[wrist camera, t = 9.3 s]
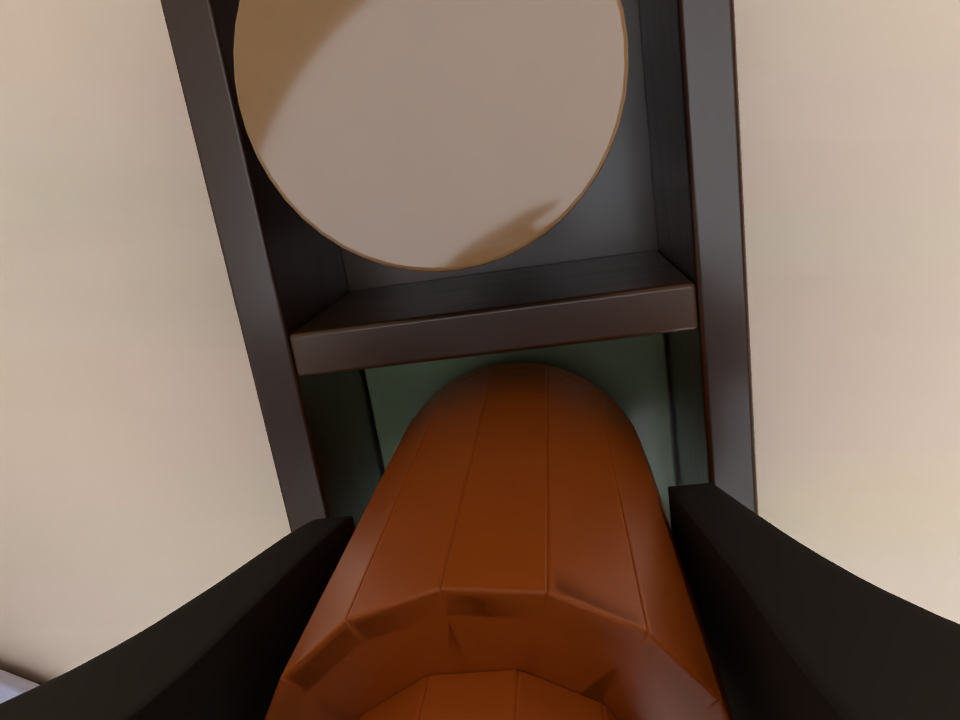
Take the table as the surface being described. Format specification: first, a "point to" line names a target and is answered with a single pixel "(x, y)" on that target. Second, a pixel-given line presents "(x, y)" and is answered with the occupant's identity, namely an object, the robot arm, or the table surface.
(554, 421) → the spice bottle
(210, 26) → the divided storage box
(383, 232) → the blue jar
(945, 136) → the table surface
